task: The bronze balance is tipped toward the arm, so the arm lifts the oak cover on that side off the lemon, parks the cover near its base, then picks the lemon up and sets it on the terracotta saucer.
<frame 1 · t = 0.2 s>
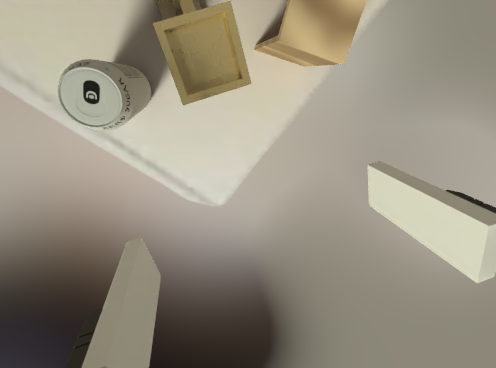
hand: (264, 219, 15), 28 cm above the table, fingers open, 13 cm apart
energy drink can: (128, 89, 35), on the table
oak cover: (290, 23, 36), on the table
balance: (179, 9, 33), on the table
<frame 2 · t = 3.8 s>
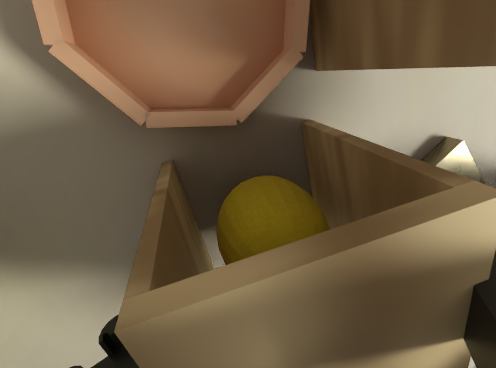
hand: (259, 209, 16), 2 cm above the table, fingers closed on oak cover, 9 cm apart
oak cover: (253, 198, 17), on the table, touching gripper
lemon: (252, 197, 17), on the table
saucer: (183, 2, 12), on the table
balance: (422, 191, 20), on the table
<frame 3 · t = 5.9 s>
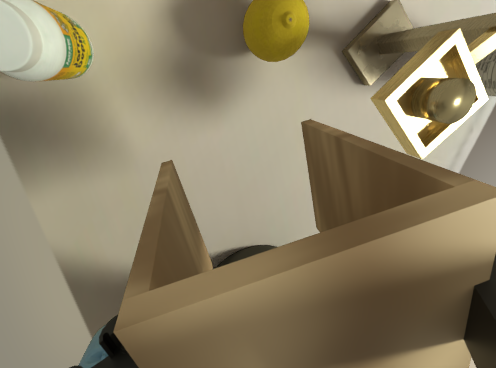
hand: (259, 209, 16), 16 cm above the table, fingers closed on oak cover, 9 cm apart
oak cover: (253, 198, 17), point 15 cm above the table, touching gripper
lemon: (262, 33, 27), on the table
energy drink can: (455, 67, 33), on the table
balance: (376, 45, 29), on the table
supplement bottle: (63, 47, 24), on the table
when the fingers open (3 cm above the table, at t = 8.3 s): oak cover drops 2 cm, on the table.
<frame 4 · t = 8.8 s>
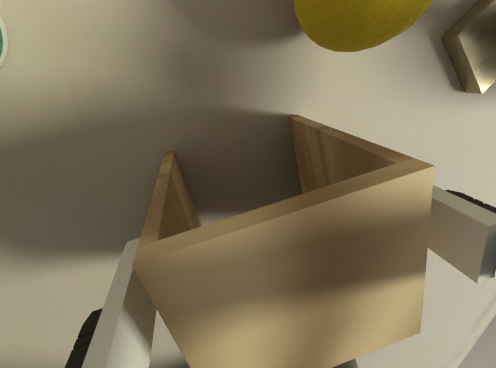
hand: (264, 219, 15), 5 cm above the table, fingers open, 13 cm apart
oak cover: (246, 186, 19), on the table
lemon: (317, 5, 15), on the table
balance: (494, 28, 18), on the table
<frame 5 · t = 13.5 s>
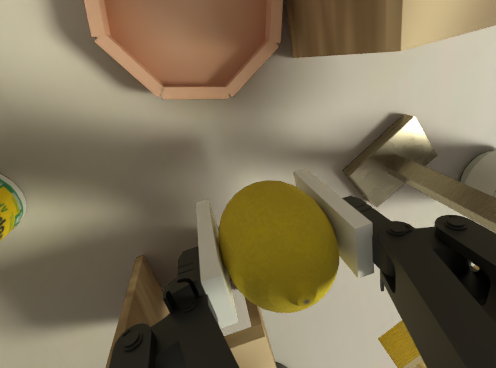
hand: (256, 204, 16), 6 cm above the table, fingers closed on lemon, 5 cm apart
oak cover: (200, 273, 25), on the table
lemon: (254, 201, 17), point 5 cm above the table, touching gripper
energy drink can: (479, 172, 27), on the table
saucer: (189, 4, 16), on the table
balance: (385, 160, 24), on the table
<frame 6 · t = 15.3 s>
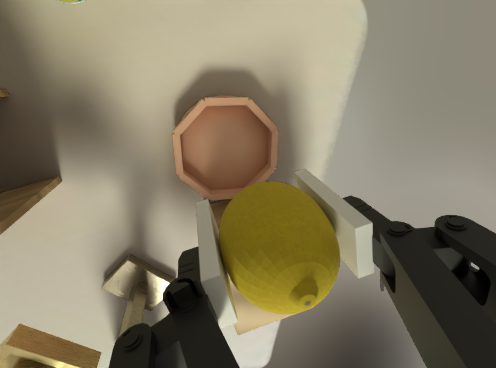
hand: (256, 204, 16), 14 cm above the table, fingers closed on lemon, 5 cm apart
lemon: (255, 202, 17), point 14 cm above the table, touching gripper
saucer: (225, 147, 29), on the table
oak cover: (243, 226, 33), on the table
balance: (141, 280, 33), on the table
when the fingers open (3 cm above the table, at t = 17.4 s): lemon drops 2 cm, resting on saucer.
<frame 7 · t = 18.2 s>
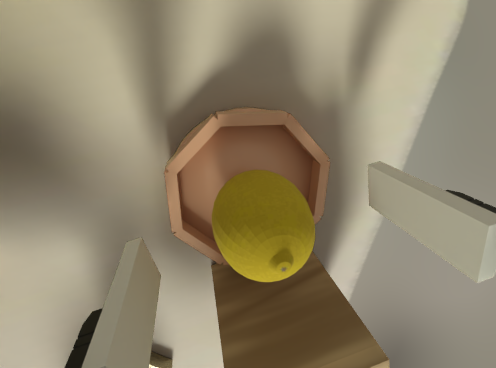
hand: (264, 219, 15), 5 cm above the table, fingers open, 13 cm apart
lemon: (246, 189, 18), point 1 cm above the table, touching saucer
saucer: (245, 183, 19), on the table
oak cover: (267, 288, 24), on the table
balance: (123, 364, 24), on the table
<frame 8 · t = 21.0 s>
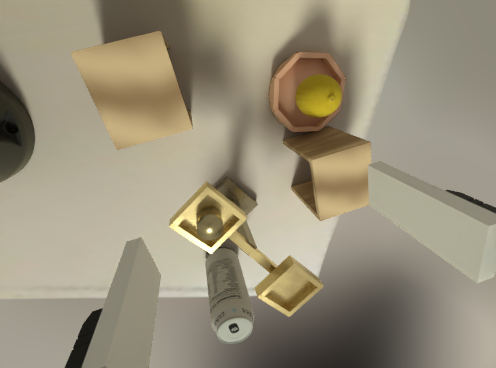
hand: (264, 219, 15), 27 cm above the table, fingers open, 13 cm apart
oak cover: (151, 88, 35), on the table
lemon: (304, 94, 39), point 1 cm above the table, touching saucer
energy drink can: (221, 258, 48), on the table
saucer: (303, 93, 39), on the table
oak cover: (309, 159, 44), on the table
balance: (231, 199, 44), on the table
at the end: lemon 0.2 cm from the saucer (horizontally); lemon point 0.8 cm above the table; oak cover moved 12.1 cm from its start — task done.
